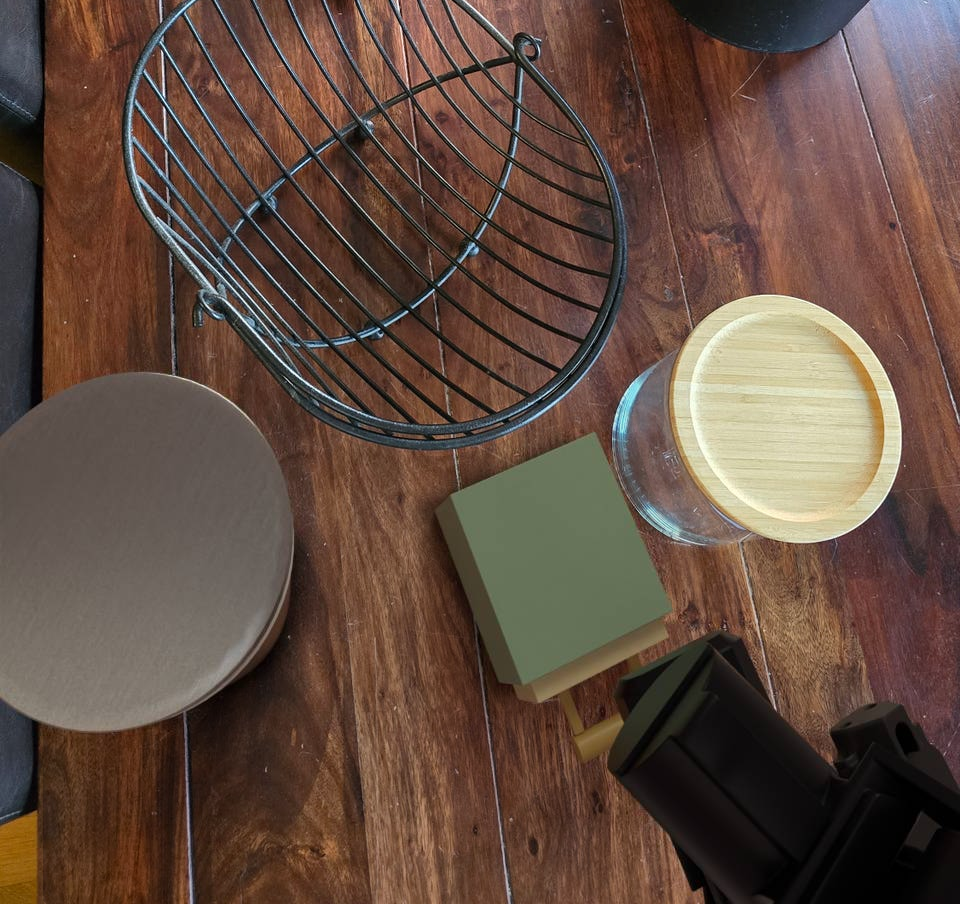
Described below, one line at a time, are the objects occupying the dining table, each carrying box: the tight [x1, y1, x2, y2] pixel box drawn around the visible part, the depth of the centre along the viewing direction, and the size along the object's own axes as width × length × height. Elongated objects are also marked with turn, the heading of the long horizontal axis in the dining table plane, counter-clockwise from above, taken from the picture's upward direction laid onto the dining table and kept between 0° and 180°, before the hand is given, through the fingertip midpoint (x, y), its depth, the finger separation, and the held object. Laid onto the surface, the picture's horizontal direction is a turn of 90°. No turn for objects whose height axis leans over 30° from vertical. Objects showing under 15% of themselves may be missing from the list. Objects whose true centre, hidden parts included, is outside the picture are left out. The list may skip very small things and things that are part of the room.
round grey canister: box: [0, 371, 295, 734], centre depth 52 cm, size 10×10×40 cm
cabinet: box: [434, 431, 674, 686], centre depth 69 cm, size 11×10×8 cm
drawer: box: [512, 617, 670, 765], centre depth 68 cm, size 13×8×6 cm, turn 23°
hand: (708, 852), depth 56 cm, fingers closed
